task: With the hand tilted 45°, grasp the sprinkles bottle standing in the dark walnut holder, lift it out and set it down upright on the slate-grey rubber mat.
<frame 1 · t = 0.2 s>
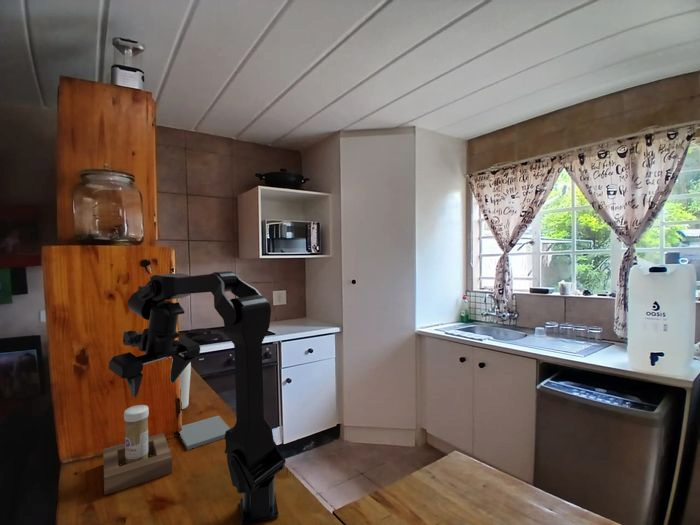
hand: (154, 389, 82), 15 cm above the countertop, tool pointing down, fingers open, 9 cm apart
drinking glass: (178, 408, 106), on the countertop
sprinkles bottle: (137, 469, 77), resting in bottle holder
bottle holder: (137, 468, 77), on the countertop
slate mat: (204, 433, 92), on the countertop
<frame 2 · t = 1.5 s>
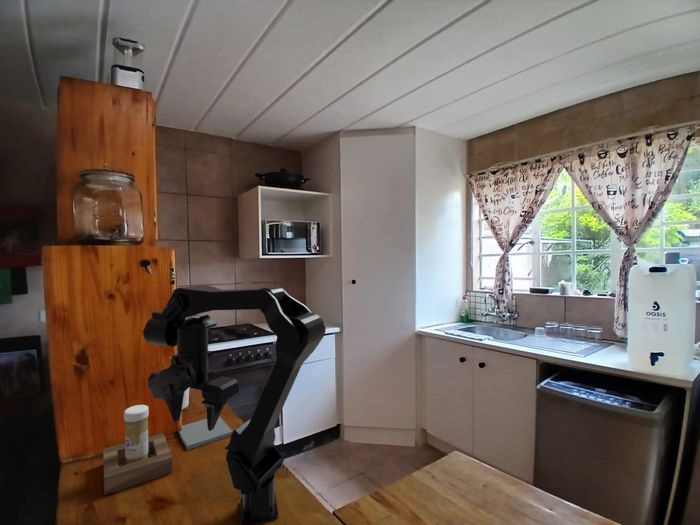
hand: (193, 425, 70), 13 cm above the countertop, tool pointing down, fingers open, 9 cm apart
nothing on the countertop moved.
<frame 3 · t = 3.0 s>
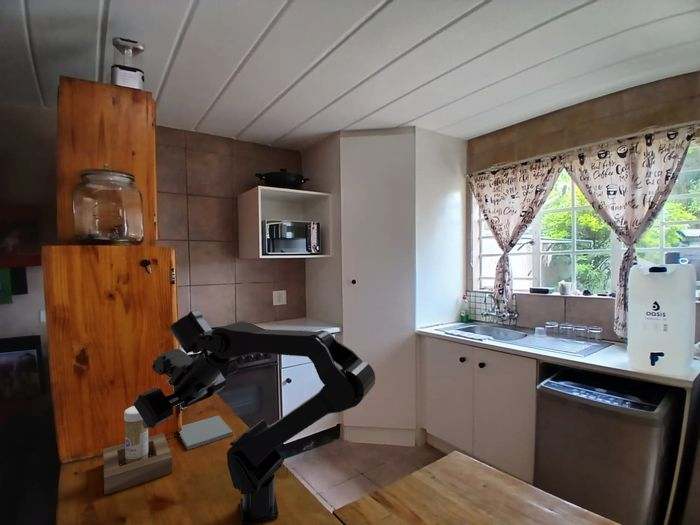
hand: (164, 415, 73), 13 cm above the countertop, tool tilted 45°, fingers open, 9 cm apart
nothing on the countertop moved.
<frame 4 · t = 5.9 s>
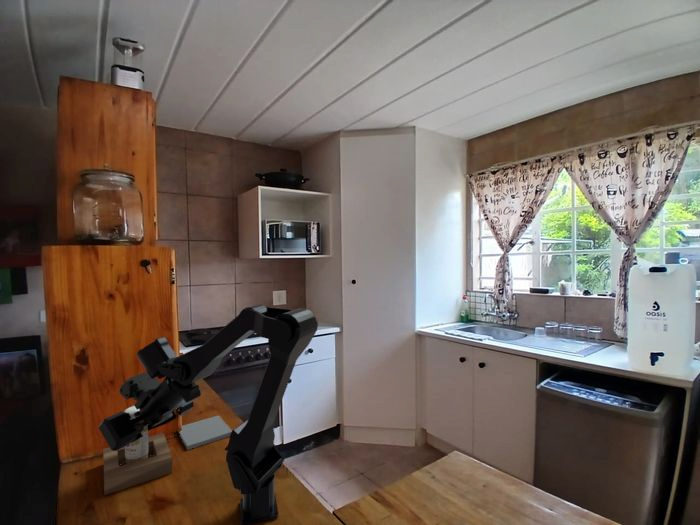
hand: (132, 435, 77), 7 cm above the countertop, tool tilted 45°, fingers closed on sprinkles bottle, 4 cm apart
sprinkles bottle: (137, 469, 77), resting in bottle holder, touching gripper
everything else where it was.
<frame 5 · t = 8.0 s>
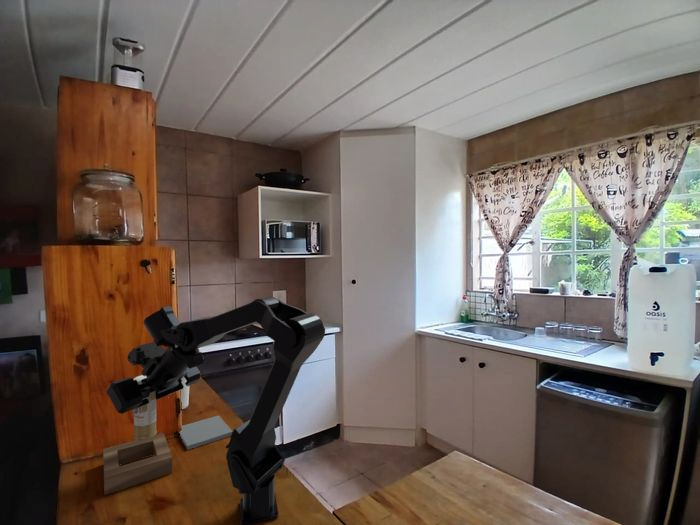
hand: (141, 403, 79), 13 cm above the countertop, tool tilted 45°, fingers closed on sprinkles bottle, 4 cm apart
sprinkles bottle: (145, 437, 79), point 6 cm above the countertop, touching gripper
everything else where it was.
when the fingers open (9 cm above the countertop, at t = 10.4 s): sprinkles bottle stays where it is, resting on slate mat.
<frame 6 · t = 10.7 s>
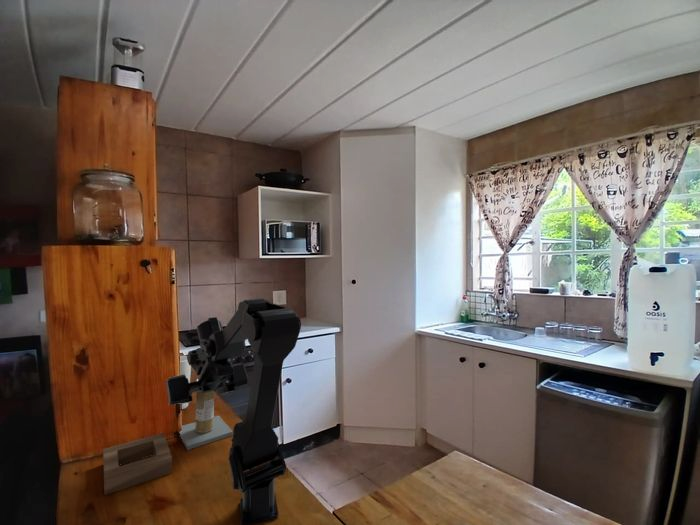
hand: (202, 397, 92), 9 cm above the countertop, tool tilted 45°, fingers open, 7 cm apart
sprinkles bottle: (204, 430, 92), point 1 cm above the countertop, touching slate mat
everything else where it was.
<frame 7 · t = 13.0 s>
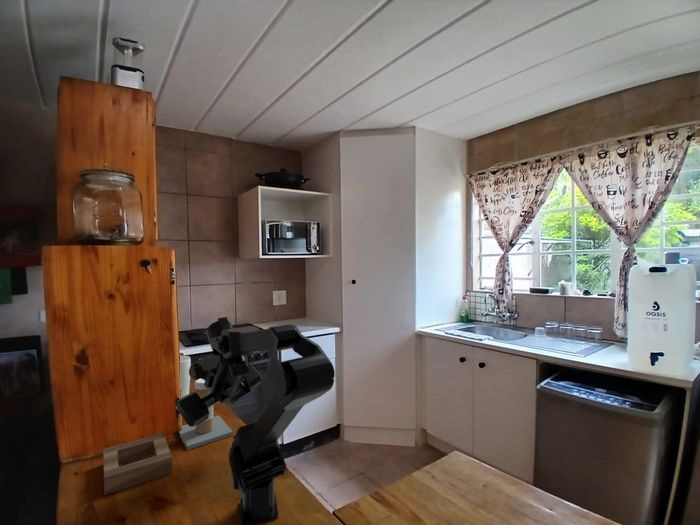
hand: (215, 412, 84), 9 cm above the countertop, tool tilted 35°, fingers open, 9 cm apart
nothing on the countertop moved.
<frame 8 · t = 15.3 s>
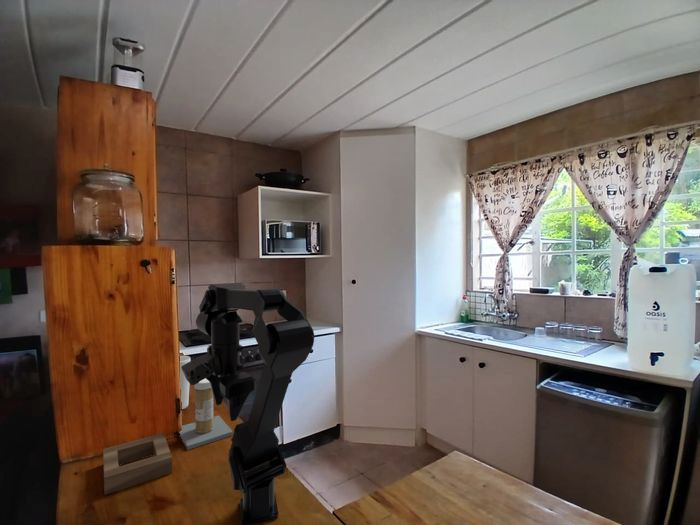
hand: (225, 412, 76), 13 cm above the countertop, tool pointing down, fingers open, 9 cm apart
nothing on the countertop moved.
at the end: sprinkles bottle inside the target area on the slate mat (0.2 cm from its centre), point 0.8 cm above the slate mat's base; sprinkles bottle tilted 0°; the gripper is holding nothing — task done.
